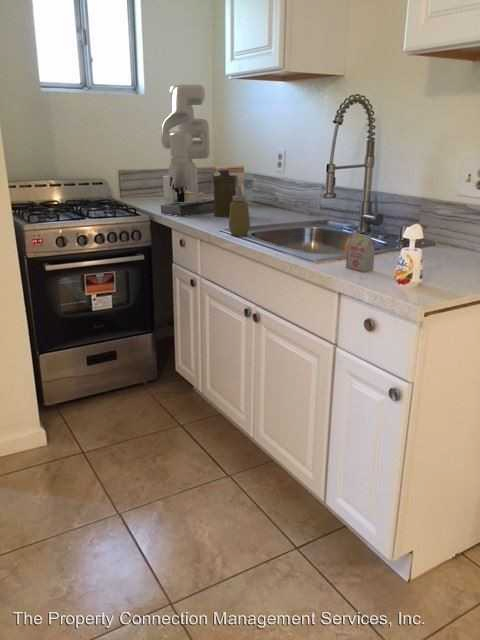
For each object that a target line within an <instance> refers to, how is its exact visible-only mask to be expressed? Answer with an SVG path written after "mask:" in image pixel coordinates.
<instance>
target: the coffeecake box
mask: <svg viewBox="0 0 480 640" xmlns="http://www.w3.org/2000/svg"><path fill="white" fill-rule="evenodd" d="M213 169H214V170H213V171H214V176H220V172H218V171H220V170H228V171H229V175H237V179H238V186H241V190H242V195H243V196H245V167H244V165H221V166H220V165H218V166H217V165H216V166H215V165H214V168H213ZM236 191H237V184H236Z"/></svg>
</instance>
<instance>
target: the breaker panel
mask: <svg viewBox="0 0 480 640" xmlns="http://www.w3.org/2000/svg"><path fill="white" fill-rule="evenodd" d="M212 212H214V199H210V200H203V199H201V200H196V202H194V203H186V204H184V203H181V202H178V203H170V204H165V205H164V204H160V214H161V213H164V214H163V215H166V214H171V215H170V216H173V215H177V216H176V217H179V216H182V217H186V216H185V215H188V216H193V215H192V214H195V215H199V214H200V215H201V214H205V213H206V214H207V213H212Z"/></svg>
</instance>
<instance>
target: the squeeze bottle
mask: <svg viewBox="0 0 480 640" xmlns="http://www.w3.org/2000/svg"><path fill="white" fill-rule="evenodd" d="M249 212H250V211H249V203H248V202H247V201H246V195H244V196H243V195H242V190H241V186H237V191H236V196H233V202H231V203H230V215H229V217H228V228H229V231H230V234H231V236H233V237H245V236H247V235H248V233H249V229H250V226H251V222H250V213H249Z"/></svg>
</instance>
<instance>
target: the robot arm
mask: <svg viewBox="0 0 480 640" xmlns="http://www.w3.org/2000/svg"><path fill="white" fill-rule="evenodd" d="M169 96H170V98H171V101H172V102H171V113H170V114H169V115H168V116H167V117H166V118H165V120H164V121H163V122H162V125H161V135H160V141H161V146H162V147H163V148H164V149H166V150H168V149H169V151H170V153H169V154H170V164H169V166H168V172H167V173H168V174H167V176H168V183H169V186H171V190H175V192H176V193H177V201H178V202H184V193H185V192H195V193H196V200H202V199H201V198H200V197H204V196H205V192H200V191H199V190H198V189H199V188H198V187H199V186H198V184H199V183H198V167H197V165H196V163H195V162H194V161H193V160H206V159H208V158H209V157H210V154H211V147H210V146H211V145H210V144H211V143H210V127H209V123H208V121H207V120H206V119H205V118H195V114H194V112H195V111H194V107H193V106H201V105H203V104H204V101H205V97H206V92H205V88H204V86H203V85H202V84H175V85H172V86H170V88H169ZM174 127H177V128H178V131H170V130H172V129H173V128H174ZM198 139H199V140H198Z"/></svg>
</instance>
